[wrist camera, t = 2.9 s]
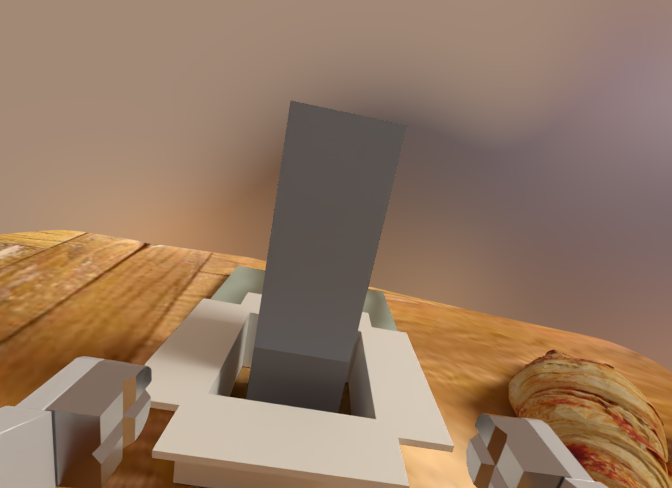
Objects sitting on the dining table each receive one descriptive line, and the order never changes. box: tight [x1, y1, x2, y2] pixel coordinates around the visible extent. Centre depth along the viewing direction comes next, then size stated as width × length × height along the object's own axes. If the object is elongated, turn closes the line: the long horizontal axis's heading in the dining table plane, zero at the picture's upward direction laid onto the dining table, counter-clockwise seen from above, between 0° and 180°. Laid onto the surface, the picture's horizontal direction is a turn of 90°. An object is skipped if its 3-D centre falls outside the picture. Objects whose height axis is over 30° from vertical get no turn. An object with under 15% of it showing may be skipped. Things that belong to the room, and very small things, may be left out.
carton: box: [144, 292, 454, 488], centre depth 22 cm, size 17×16×5 cm
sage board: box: [211, 266, 398, 331], centre depth 38 cm, size 20×13×2 cm, turn 91°
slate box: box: [246, 101, 407, 413], centre depth 20 cm, size 6×6×20 cm
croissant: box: [508, 350, 672, 488], centre depth 25 cm, size 21×10×8 cm, turn 155°
